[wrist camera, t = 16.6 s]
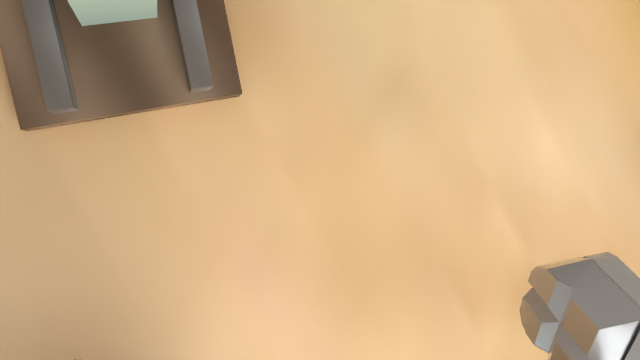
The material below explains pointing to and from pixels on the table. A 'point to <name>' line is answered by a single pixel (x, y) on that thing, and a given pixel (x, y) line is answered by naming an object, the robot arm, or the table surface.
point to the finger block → (112, 10)
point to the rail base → (114, 61)
